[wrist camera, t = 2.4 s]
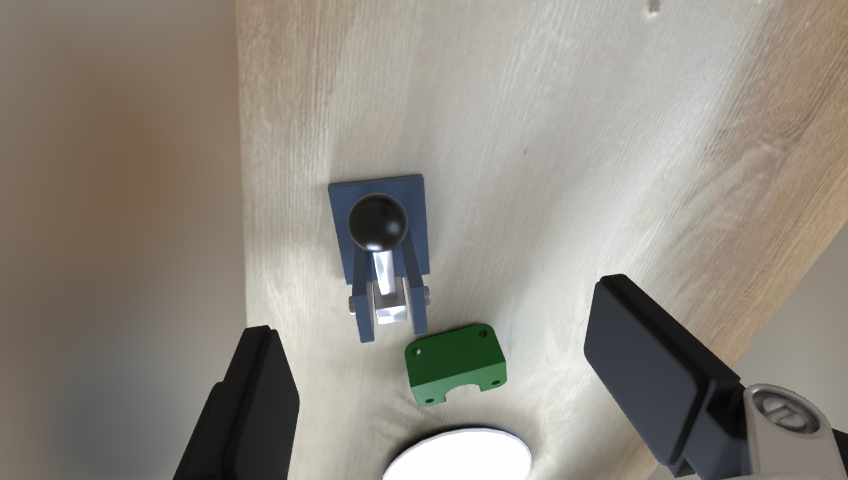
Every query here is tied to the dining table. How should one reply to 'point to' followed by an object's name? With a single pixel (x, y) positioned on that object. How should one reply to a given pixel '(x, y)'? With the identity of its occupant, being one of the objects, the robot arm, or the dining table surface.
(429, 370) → the green mounting block
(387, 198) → the lever
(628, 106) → the dining table surface
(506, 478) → the plate
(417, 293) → the bracket
